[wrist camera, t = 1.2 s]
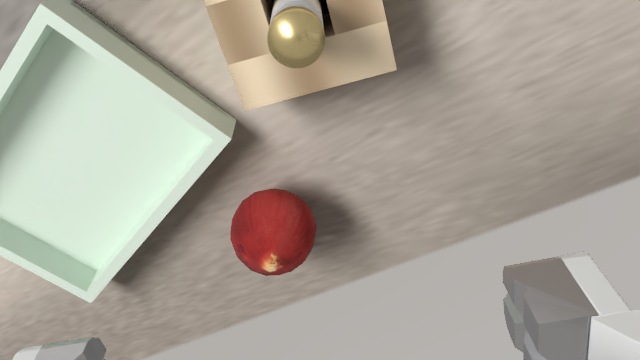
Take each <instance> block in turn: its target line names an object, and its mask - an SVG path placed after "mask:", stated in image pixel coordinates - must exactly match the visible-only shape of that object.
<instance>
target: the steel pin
mask: <svg viewBox="0 0 640 360" xmlns="http://www.w3.org/2000/svg"><path fill="white" fill-rule="evenodd" d="M267 43H268V48H269V50H270V52H271V54H272V56H273V57H274V58H275V59H276V60H277V61H278V62H279V63H280V64H282V65H284V66H286V67H289V68H303V67H307V66H309V65H311V64H312V63H314V62H315V61H316V60H317V59H318V58H319V57H320V55H321V54H322V52H323V49H324V45H325V34H324V26H323V18H322V10H321V2H320V0H275V1H274V6H273V11H272V15H271V20H270V25H269V30H268V36H267Z"/></svg>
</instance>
